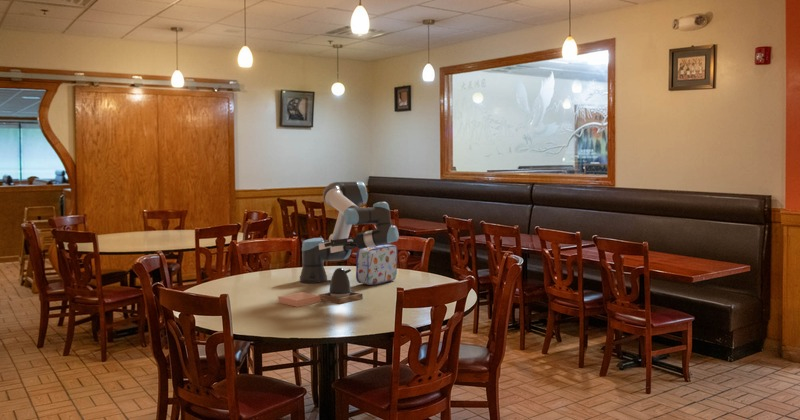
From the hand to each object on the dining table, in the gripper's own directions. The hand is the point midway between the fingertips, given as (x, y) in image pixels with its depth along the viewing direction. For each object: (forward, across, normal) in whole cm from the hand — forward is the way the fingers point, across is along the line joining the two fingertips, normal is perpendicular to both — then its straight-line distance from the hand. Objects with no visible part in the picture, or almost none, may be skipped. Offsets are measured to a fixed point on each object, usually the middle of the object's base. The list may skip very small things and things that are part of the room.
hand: (325, 248), depth 323 cm
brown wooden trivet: (-1, +8, -24) cm, 25 cm away
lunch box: (-6, +51, -14) cm, 54 cm away
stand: (+15, -4, -23) cm, 28 cm away
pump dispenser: (-1, +8, -24) cm, 26 cm away
